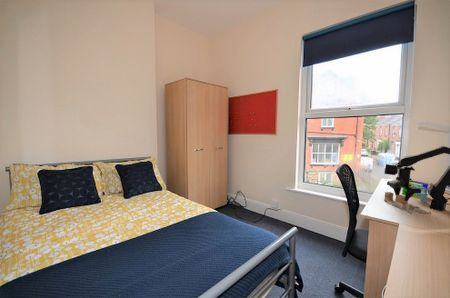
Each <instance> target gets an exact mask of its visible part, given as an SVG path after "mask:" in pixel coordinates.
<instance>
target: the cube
mask: <svg viewBox="0 0 450 298" xmlns="http://www.w3.org/2000/svg"><path fill="white" fill-rule="evenodd" d="M394 199H395V200H394V201H396V202H398V203H401V204H404V205H405V204H408V203H409V200H408V201H405V195H403V194H399V195H395V198H394Z"/></svg>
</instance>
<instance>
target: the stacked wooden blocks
mask: <svg viewBox="0 0 450 298" xmlns="http://www.w3.org/2000/svg"><path fill="white" fill-rule="evenodd" d="M394 195H395V192H392V191H389V192H388V191H385V192H384V198H383V200H384V202H385V203H388V204H390V205H392V204H394V205H396V206H399V207H401V208H403V209H406V210H410V209H409V206H410V205H405V204H404V205H403V204H401V203H398V202H396V201H395V200H394Z"/></svg>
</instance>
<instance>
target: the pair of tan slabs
mask: <svg viewBox="0 0 450 298" xmlns="http://www.w3.org/2000/svg"><path fill="white" fill-rule="evenodd" d="M404 205H410V206H409V207H411V208H413V209H416V210H418V211H420V212H422V213H421V214H431V213H430V211H431V210H428V209H426V208H423V207H421V208H416V206H417V205H416V206H415V204H413V205H412V203H409V204H404ZM425 209H426V210H425Z"/></svg>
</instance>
